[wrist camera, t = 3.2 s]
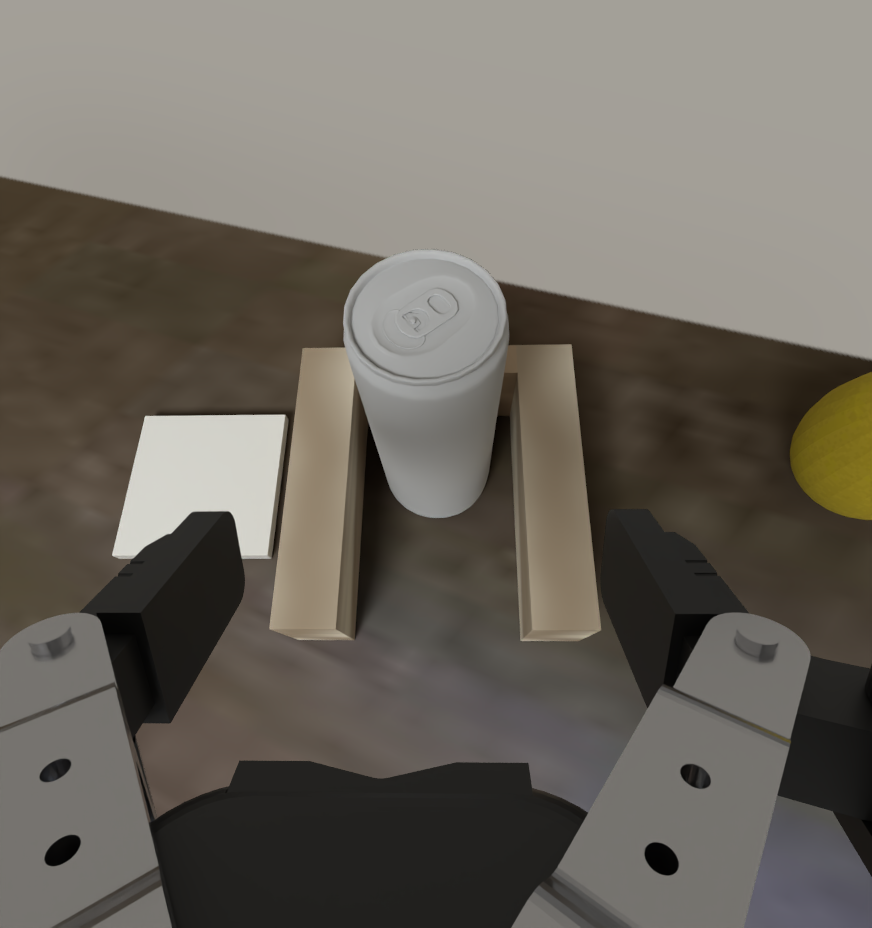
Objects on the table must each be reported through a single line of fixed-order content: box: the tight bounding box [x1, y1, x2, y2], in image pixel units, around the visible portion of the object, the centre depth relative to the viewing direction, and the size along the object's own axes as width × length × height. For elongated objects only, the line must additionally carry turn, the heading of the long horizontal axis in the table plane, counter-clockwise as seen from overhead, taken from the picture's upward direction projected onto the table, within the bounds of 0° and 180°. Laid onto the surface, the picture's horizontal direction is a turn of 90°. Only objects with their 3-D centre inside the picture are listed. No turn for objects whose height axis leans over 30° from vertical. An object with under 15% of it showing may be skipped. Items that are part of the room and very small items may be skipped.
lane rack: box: [269, 344, 601, 641], centre depth 24 cm, size 12×12×4 cm
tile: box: [112, 415, 289, 559], centre depth 26 cm, size 7×7×1 cm
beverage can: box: [343, 249, 509, 518], centre depth 21 cm, size 5×5×12 cm
